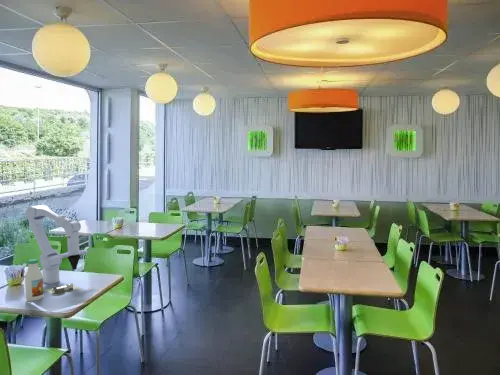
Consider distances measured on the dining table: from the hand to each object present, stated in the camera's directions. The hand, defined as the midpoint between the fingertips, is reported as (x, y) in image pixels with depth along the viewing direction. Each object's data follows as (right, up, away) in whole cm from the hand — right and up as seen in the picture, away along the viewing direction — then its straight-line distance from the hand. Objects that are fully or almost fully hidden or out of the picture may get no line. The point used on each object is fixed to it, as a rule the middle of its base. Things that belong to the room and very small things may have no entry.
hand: (74, 269), depth 231 cm
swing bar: (-1, -9, -11) cm, 14 cm away
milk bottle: (-11, -11, -20) cm, 26 cm away
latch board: (-2, -10, -8) cm, 13 cm away
